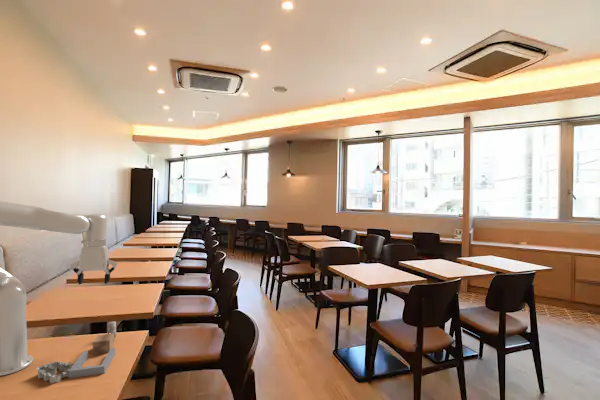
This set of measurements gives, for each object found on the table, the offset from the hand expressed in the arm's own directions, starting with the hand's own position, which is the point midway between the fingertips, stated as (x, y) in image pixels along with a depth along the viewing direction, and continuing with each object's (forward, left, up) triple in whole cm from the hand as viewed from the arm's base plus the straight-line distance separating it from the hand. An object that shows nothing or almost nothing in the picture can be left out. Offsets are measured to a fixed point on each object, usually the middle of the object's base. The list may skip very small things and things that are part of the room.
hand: (93, 283), depth 135 cm
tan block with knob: (+6, -4, -25) cm, 26 cm away
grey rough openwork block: (-5, -24, -26) cm, 36 cm away
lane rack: (+6, -20, -25) cm, 33 cm away
